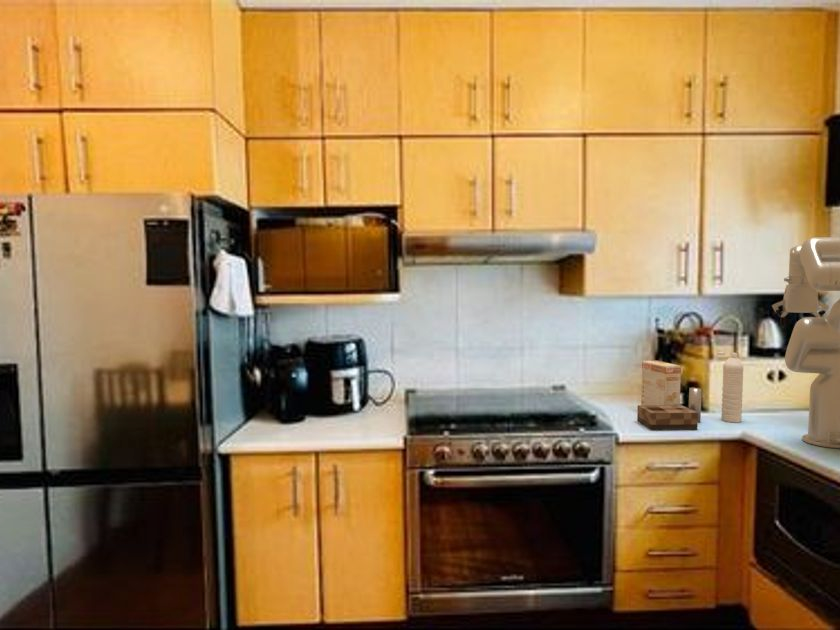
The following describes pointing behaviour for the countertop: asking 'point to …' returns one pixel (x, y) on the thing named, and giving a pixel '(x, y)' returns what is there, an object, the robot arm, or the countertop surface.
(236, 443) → the countertop surface
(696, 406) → the steel pin
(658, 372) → the coffeecake box
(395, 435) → the countertop surface
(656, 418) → the walnut block
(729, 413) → the water bottle
